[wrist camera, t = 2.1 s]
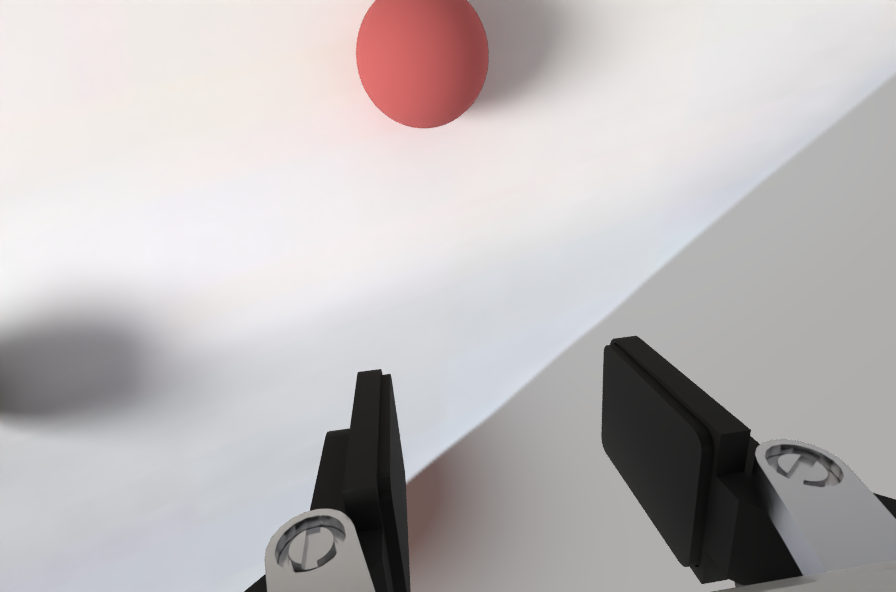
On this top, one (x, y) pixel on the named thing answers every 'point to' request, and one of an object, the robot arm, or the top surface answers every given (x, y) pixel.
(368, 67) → the ball
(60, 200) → the top surface
